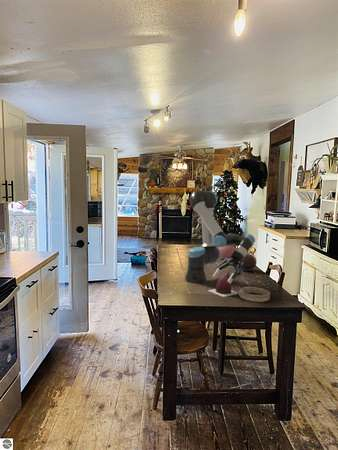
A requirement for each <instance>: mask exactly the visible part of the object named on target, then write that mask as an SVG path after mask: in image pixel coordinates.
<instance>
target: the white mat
mask: <svg viewBox="0 0 338 450" xmlns="http://www.w3.org/2000/svg"><path fill="white" fill-rule="evenodd" d="M207 292H210V293H212V294H214V295H217V296H220V297H222V298H225V297H226V298H227V297H230V296H231V297H232V296H235V295H239V292H238V291H235V290H233V289H231V293H230V294H220V293H218V292H216V288H213V289H208V290H207Z"/></svg>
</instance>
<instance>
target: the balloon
mask: <svg viewBox="0 0 338 450" xmlns="http://www.w3.org/2000/svg"><path fill="white" fill-rule="evenodd" d="M217 248H218V249H219V250H220V258H221V259H222V260H225V258H226V257H228V258H229V259H230V258H231V255H232V254H233V252H234V251H235V249H236V248H237V247H234V246H225V247H217ZM220 258H219V259H220Z"/></svg>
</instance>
